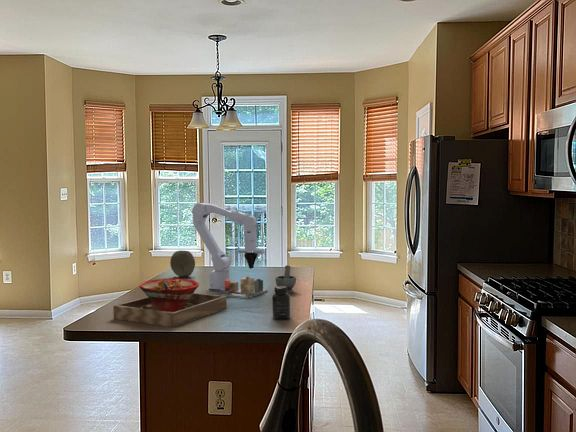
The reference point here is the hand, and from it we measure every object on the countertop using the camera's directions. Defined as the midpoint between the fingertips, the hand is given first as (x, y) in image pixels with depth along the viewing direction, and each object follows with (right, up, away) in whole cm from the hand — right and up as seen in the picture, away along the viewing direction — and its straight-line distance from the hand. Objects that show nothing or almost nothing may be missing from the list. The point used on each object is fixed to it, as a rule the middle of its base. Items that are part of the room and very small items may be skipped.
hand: (251, 268), depth 263 cm
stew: (-30, -14, -49) cm, 59 cm away
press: (0, -11, -9) cm, 14 cm away
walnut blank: (-9, -11, -6) cm, 15 cm away
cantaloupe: (-41, -9, +39) cm, 57 cm away
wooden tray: (-28, -13, -48) cm, 57 cm away
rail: (-6, -11, -17) cm, 21 cm away
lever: (-10, -10, -15) cm, 20 cm away
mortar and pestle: (+17, -11, -5) cm, 21 cm away
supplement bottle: (+15, -14, -57) cm, 61 cm away
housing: (-1, -10, -8) cm, 12 cm away
